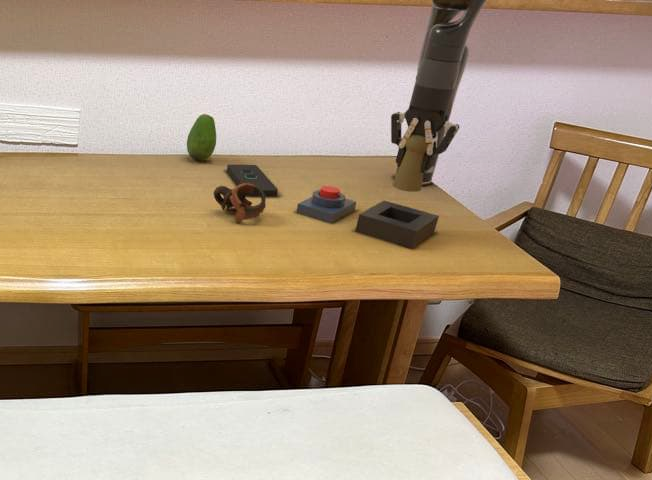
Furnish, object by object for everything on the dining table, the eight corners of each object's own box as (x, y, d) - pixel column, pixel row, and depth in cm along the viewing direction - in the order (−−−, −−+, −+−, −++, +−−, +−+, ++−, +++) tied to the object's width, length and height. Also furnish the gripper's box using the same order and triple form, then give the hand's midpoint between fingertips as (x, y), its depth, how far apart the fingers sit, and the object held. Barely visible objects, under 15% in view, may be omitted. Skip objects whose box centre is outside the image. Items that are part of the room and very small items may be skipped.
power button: (324, 191, 176) (326, 184, 175) (341, 196, 174) (343, 189, 173) (315, 196, 173) (317, 188, 172) (333, 201, 171) (334, 193, 170)
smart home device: (256, 164, 197) (279, 190, 181) (255, 170, 198) (278, 197, 182) (226, 163, 196) (246, 189, 180) (225, 170, 197) (245, 196, 181)
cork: (422, 193, 158) (438, 139, 152) (393, 189, 159) (407, 136, 153) (419, 184, 163) (434, 132, 157) (391, 180, 164) (404, 128, 158)
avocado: (215, 165, 200) (220, 118, 193) (185, 163, 200) (190, 116, 193) (212, 156, 207) (218, 111, 200) (184, 154, 207) (188, 109, 200)
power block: (320, 200, 182) (323, 184, 179) (354, 210, 177) (358, 194, 175) (296, 212, 174) (299, 195, 171) (331, 223, 169) (335, 206, 167)
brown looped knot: (261, 211, 174) (273, 187, 167) (251, 241, 170) (263, 218, 163) (212, 192, 174) (223, 167, 167) (201, 221, 170) (212, 197, 162)
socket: (379, 217, 174) (383, 200, 172) (433, 232, 168) (439, 215, 166) (354, 231, 166) (359, 214, 164) (411, 248, 159) (416, 230, 157)
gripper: (477, 87, 148) (451, 173, 158) (408, 74, 155) (387, 157, 165) (464, 92, 143) (438, 181, 153) (393, 79, 150) (372, 164, 160)
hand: (411, 168), depth 159 cm, fingers closed on cork, 4 cm apart
